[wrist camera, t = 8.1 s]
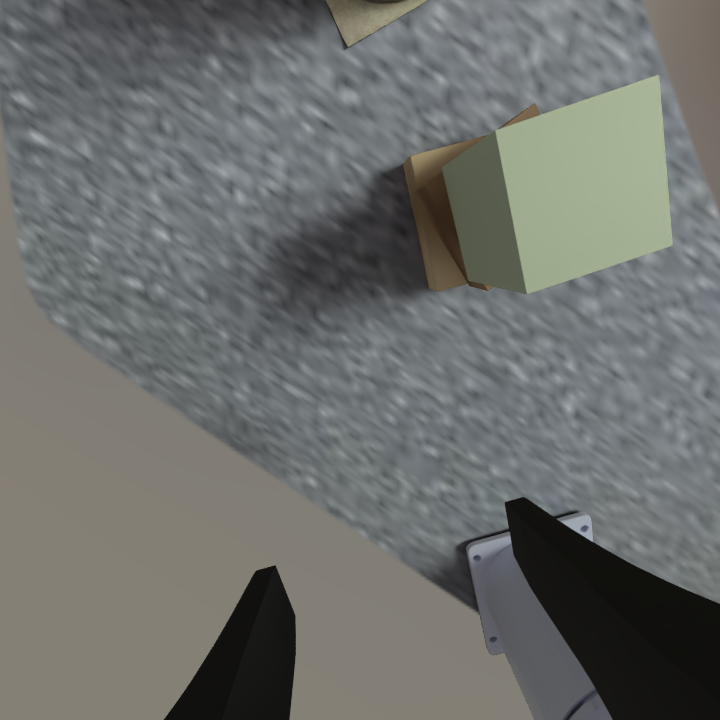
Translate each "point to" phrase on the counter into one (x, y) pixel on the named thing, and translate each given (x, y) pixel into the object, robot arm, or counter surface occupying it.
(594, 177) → the sage block
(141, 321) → the counter surface
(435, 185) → the walnut slab
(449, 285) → the oak slab
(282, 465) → the counter surface
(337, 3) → the condiment
